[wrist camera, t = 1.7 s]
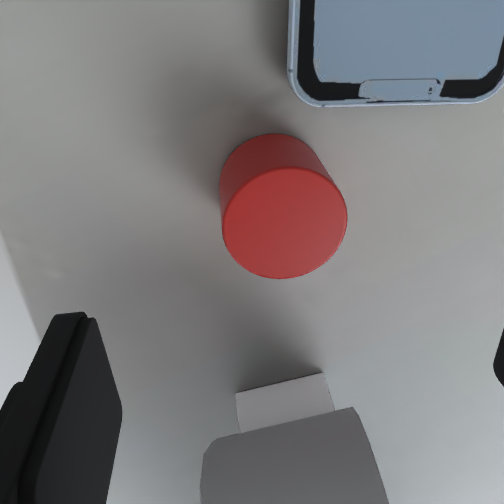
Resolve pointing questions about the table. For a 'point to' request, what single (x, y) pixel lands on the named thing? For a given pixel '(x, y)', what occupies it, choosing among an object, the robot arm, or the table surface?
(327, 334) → the table surface
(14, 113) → the table surface
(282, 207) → the red cylinder
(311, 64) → the smartphone
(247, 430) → the alarm clock
